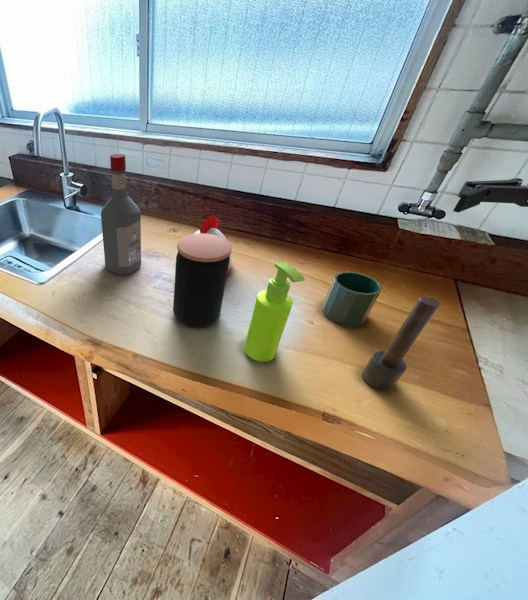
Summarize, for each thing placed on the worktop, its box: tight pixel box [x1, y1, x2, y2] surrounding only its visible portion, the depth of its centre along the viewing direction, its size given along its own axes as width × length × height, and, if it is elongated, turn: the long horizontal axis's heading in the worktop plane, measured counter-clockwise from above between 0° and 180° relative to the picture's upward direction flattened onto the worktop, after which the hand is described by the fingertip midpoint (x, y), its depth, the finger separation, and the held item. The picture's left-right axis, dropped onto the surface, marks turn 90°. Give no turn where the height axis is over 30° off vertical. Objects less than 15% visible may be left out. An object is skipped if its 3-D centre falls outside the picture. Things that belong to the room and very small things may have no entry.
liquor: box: [100, 153, 142, 276], centre depth 84 cm, size 9×9×30 cm
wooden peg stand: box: [361, 296, 441, 392], centre depth 52 cm, size 5×5×18 cm
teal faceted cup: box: [321, 271, 383, 327], centre depth 70 cm, size 9×9×8 cm
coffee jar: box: [172, 233, 233, 329], centre depth 69 cm, size 11×11×18 cm
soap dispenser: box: [243, 261, 306, 363], centre depth 58 cm, size 6×7×20 cm
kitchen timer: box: [193, 214, 232, 275], centre depth 86 cm, size 14×14×15 cm
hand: (517, 218), depth 45 cm, fingers open, 13 cm apart
